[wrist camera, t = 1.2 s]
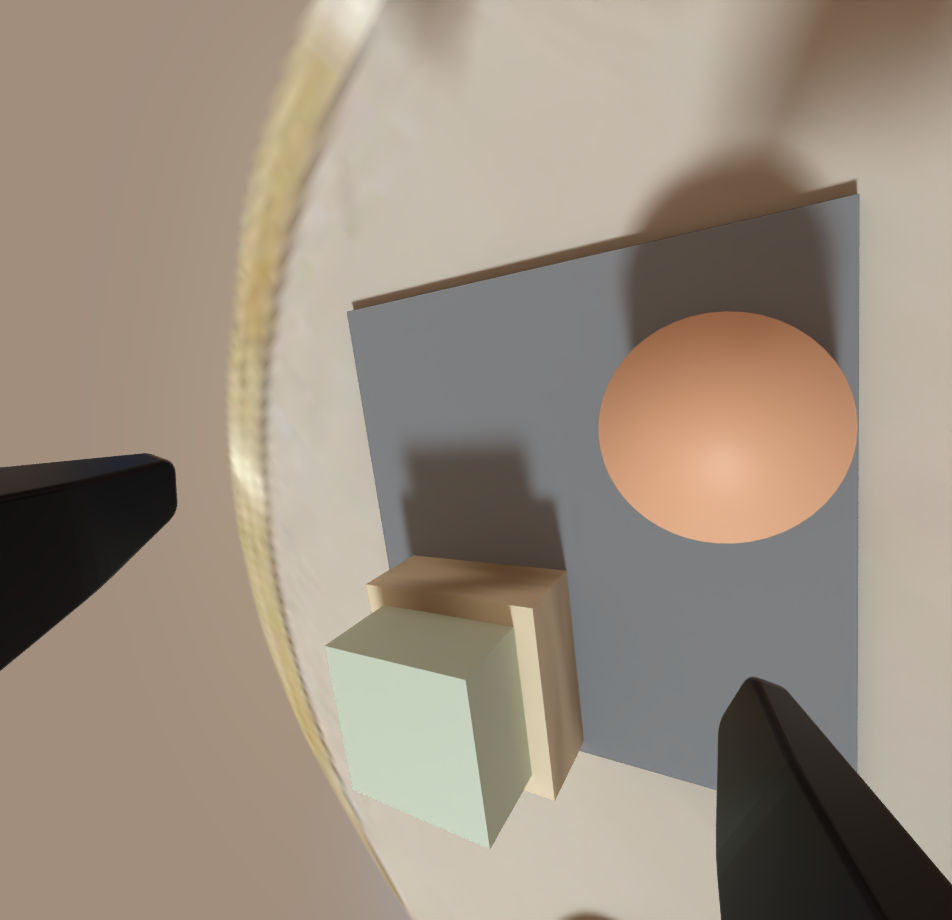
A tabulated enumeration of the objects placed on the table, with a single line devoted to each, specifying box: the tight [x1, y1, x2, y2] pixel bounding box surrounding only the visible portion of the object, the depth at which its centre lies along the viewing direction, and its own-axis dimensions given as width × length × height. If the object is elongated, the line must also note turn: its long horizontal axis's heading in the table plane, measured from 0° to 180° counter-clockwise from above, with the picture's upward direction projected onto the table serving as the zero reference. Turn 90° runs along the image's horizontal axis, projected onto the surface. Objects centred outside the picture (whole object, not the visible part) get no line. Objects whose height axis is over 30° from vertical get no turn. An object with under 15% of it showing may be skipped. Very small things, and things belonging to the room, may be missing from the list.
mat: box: [347, 194, 859, 790], centre depth 19 cm, size 17×18×1 cm
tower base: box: [366, 555, 584, 801], centre depth 20 cm, size 7×7×3 cm
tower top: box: [325, 605, 532, 849], centre depth 17 cm, size 6×6×3 cm
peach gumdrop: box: [598, 311, 858, 544], centre depth 13 cm, size 5×5×4 cm
